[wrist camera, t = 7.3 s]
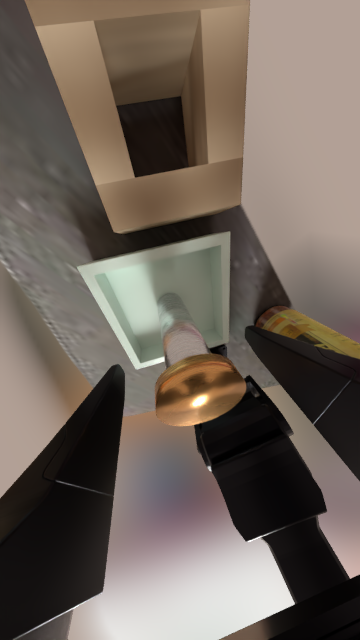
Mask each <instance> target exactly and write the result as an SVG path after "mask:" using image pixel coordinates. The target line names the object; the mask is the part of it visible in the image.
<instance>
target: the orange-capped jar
mask: <svg viewBox="0 0 360 640" xmlns="http://www.w3.org/2000/svg"><path fill="white" fill-rule="evenodd" d="M157 309H158V316H159V323H160V330H161V338H162V345H163V352H164V359H165V366H166V370H165V371H164V372H163V373H162V374H161V375H160V377H159V378H158V380H157V382H156V385H155V405H156V415H157V417H158V419H159V420H160V421H162V422H163V423H165V424H168V425H173V426H188V425H195V424H200V423H203V422H206V421H209V420H212V419H214V418H216V417H219V416H221V415H222V414H224V413H226V412H227V411H229V410H230V409H232V408H233V407H234V406H235V405H236V404H237V403H238V402H239V401H240V400H241V399H242V397H243V396H244V394H245V391H246V383H245V381H244V379H243V378H242V376H241V375H240V373H239V372H238V370H237V369H236V367H235V366H234V364H233V363H232V362H231V360H229V359H228V358H226V357H224V356H222V355H218V354H212V353H211V351H210V349H209V347H208V346H207V344H206V342H205V340H204V338H203V337H202V335H201V333H200V331H199V329H198V328H197V326H196V324H195V322H194V320H193V319H192V317H191V315H190V313H189V311H188V310H187V308H186V306H185V304H184V302H183V301H182V299H181V297H180V296H179V295H177V294H175V293H166V294H164V295H162V296H161V297H160V298H159V300H158V302H157Z"/></svg>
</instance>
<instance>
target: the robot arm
mask: <svg viewBox="0 0 360 640" xmlns="http://www.w3.org/2000/svg"><path fill="white" fill-rule="evenodd" d="M245 338H246V340H247V342H248V343H249V345H250V346H251V348H252V349H253V351H254V352H255V354H256V355H257V357H258V358H259V359H260V360H261V362H262V363H263V364H264V365H265V366H266V368H267V369H268V370H269V371H270V373H271V374H272V375H273V376H274V377H275V379H276V380H277V381H278V382H279V383H280V385H281V386H282V387H283V388H284V390H285V391H286V392H287V393H288V394H289V396H290V397H291V398H292V399H293V400H294V402H295V403H296V404H297V405H298V407H299V408H300V409H301V410H302V411H303V412H304V414H305V415H306V416H307V418H308V419H309V420H310V421H311V422H312V424H314V426H315V427H316V429H317V430H318V431H319V432H320V434H321V435H322V436H323V437H324V438H325V440H326V441H327V442H328V443H329V444H330V446H331V447H332V448H333V449H334V450H335V452H336V453H337V454H338V455H339V457H340V458H341V459H342V460H343V461H344V463H345V464H346V465H347V466H348V468H349V469H350V470H351V471H352V472H353V474H354V475H355V476H356V477H357V478H358V480H359V481H360V359H359V358H355V357H351V356H348V355H344V354H341V353H337V352H334V351H331V350H327V349H324V348H321V347H318V346H314V345H312V344H308V343H305V342H302V341H299V340H296V339H293V338H290V337H287V336H284V335H280V334H277V333H274V332H271V331H268V330H265V329H262V328H259V327H256V326H252V325H251V326H247V327H246V328H245ZM210 351H211V353H212V354H218V355H222V356H224V357H226V358H227V347H226V346H225V345H221V346H217V347H214V348H211V349H210ZM244 381H245V383H246V391H245V394H244V396H243V397H242V399H241V400H240V401H239V402H238V403H237V404H236V405H235V406H234V407H233V408H232V409H230V410H229V411H227V412H226V413H224V414H222V415H221V416H219V417H216V418H214V419H212V420H209V421H206V422H203V423H200V424H195V425H194V427H195V434H196V441H197V450H198V452H199V454H201V455H202V458H203V460H204V462H205V464H206V466H207V468H208V469H209V470H210V471H212V473H213V475H214V476H215V478H216V480H217V482H218V484H219V487H220V489H221V492H222V494H223V497H224V499H225V502H226V505H227V507H228V510H229V513H230V516H231V518H232V521H233V524H234V526H235V527H236V529H237V530H238V531H239V533H240V534H241V536H242V537H243V538H244V540H245V541H246V542H250V541H252V540H255V539H257V538H261V539H262V540H263V541H264V542H265V543H266V544H267V545H268V546H269V548H270V550H271V552H272V554H273V556H274V559H275V561H276V563H277V565H278V567H279V569H280V572H281V574H282V576H283V578H284V580H285V583H286V585H287V587H288V589H289V591H290V594H291V596H292V598H293V600H294V602H295V605H293V606H291V607H288V608H286V609H284V610H282V611H280V612H278V613H276V614H273V615H271V616H269V617H267V618H265V619H263V620H260V621H258V622H256V623H254V624H252V625H250V626H247V627H245V628H243V629H241V630H239V631H237V632H235V633H232V634H230V635H228V636H226V637H224V638H222V639H219V640H360V575H358V576H356V577H353V578H351V579H350V578H349V576H348V574H347V573H346V571H345V569H344V568H343V566H342V564H341V563H340V561H339V559H338V557H337V556H336V554H335V552H334V551H333V549H332V547H331V546H330V544H329V542H328V541H327V539H326V537H325V535H324V534H323V532H322V530H321V529H320V527H319V522H318V515H320V514H323V513H325V512H327V509H326V505H325V502H324V498H323V494H322V492H321V489H320V488H319V486H318V485H317V483H316V482H315V480H314V479H313V477H312V474H311V472H310V470H309V468H308V467H307V465H306V464H305V462H304V460H303V459H302V457H301V456H300V454H299V452H298V451H297V449H296V448H295V446H294V444H293V443H292V441H291V440H290V438H289V436H291V435H293V434H294V433H293V431H292V429H291V427H290V426H289V424H288V422H287V421H286V419H285V418H284V416H283V415H282V413H281V412H280V411H279V409H278V408H277V407H276V405H275V404H274V403H273V402H272V400H271V399H270V398H269V397H268V396H267V395H266V393H265V392H264V391H263V390H262V389H261V388H260V386H259V385H258V384H257V383H256V382H255V381H254V379H253V378H252V377H251V376H250V375H249V376H247V377H246V378H244ZM124 400H125V373H124V371H123V369H122V368H121V366H120V365H119V364H116V365H113V366H111V368H110V369H109V370H108V371H107V373H106V374H105V375H104V376H103V377H102V379H101V380H100V381H99V382H98V384H97V385H96V386H95V387H94V389H93V390H92V391H91V392H90V394H89V395H88V396H87V397H86V398H85V400H84V401H83V402H82V403H81V405H80V406H79V407H78V408H77V410H76V411H75V412H74V413H73V415H72V416H71V417H70V418H69V419H68V421H67V422H66V424H65V425H64V426H63V427H62V428H61V429H60V431H59V432H58V433H57V434H56V435H55V437H54V438H53V439H52V440H51V441H50V443H49V444H48V445H47V446H46V447H45V449H44V450H43V451H42V452H41V453H40V454H39V455H38V457H37V458H36V459H35V460H34V461H33V462H32V463H31V465H30V466H29V467H28V468H27V469H26V470H25V471H24V472H23V473H22V475H21V476H20V477H19V478H18V479H17V480H16V481H15V482H14V484H13V485H12V486H11V487H10V488H9V489H8V490H7V491H6V493H5V494H4V495H3V496H2V497H1V498H0V640H68V639H67V638H68V633H69V628H70V624H71V619H72V614H73V609H74V608H75V607H77V606H79V605H80V604H83V603H84V602H86V601H88V600H90V599H92V598H94V597H96V596H97V595H99V594H101V593H102V592H103V587H104V579H105V570H106V562H107V553H108V544H109V534H110V526H111V517H112V508H113V499H114V497H113V496H114V489H115V480H116V471H117V461H118V454H119V445H120V436H121V427H122V418H123V409H124Z"/></svg>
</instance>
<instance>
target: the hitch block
mask: <svg viewBox="0 0 360 640" xmlns="http://www.w3.org/2000/svg"><path fill="white" fill-rule="evenodd" d="M25 2H26V5H27V8H28V10H29V13H30V15H31V18H32V21H33V23H34V26H35V28H36V31H37V34H38V36H39V39H40V41H41V44H42V47H43V49H44V52H45V54H46V57H47V60H48V62H49V65H50V67H51V70H52V73H53V75H54V78H55V80H56V83H57V86H58V88H59V91H60V93H61V96H62V99H63V101H64V104H65V106H66V109H67V112H68V114H69V117H70V119H71V122H72V125H73V127H74V130H75V132H76V135H77V138H78V140H79V143H80V145H81V148H82V151H83V153H84V156H85V158H86V161H87V164H88V166H89V169H90V171H91V174H92V177H93V179H94V182H95V185H96V187H97V190H98V192H99V195H100V198H101V200H102V203H103V205H104V208H105V211H106V213H107V216H108V218H109V221H110V224H111V226H112V229H113V231H114V232H116V233H120V234H128V233H132V232H137V231H141V230H146V229H150V228H155V227H159V226H164V225H169V224H173V223H178V222H182V221H187V220H191V219H196V218H200V217H205V216H209V215H214V214H218V213H220V212H223V211H225V210H228V209H230V208H233V207H235V206H238V205H240V204H241V191H242V167H243V145H244V124H245V101H246V79H247V55H248V33H249V32H248V31H249V11H250V0H25ZM178 96H181V100H182V110H183V119H184V128H185V138H186V147H187V157H188V166H189V168H184V169H179V170H174V171H168V172H163V173H158V174H153V175H147V176H142V177H137V178H135V176H134V172H133V169H132V165H131V161H130V157H129V154H128V150H127V146H126V142H125V138H124V135H123V131H122V127H121V123H120V119H119V116H118V112H117V108H116V106H118V105H125V104H131V103H138V102H145V101H151V100H158V99H165V98H171V97H178Z"/></svg>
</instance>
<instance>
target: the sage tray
mask: <svg viewBox="0 0 360 640" xmlns="http://www.w3.org/2000/svg"><path fill="white" fill-rule="evenodd" d="M77 268H78V270H79V272H80V273H81V275H82V277H83V279H84V280H85V282H86V284H87V286H88V287H89V289H90V291H91V292H92V294H93V296H94V298H95V299H96V301H97V303H98V305H99V306H100V308H101V310H102V311H103V313H104V315H105V317H106V318H107V320H108V322H109V324H110V325H111V327H112V329H113V330H114V332H115V334H116V336H117V337H118V339H119V341H120V342H121V344H122V346H123V348H124V349H125V351H126V353H127V355H128V356H129V358H130V360H131V361H132V363H133V365H134V367H135V368H136V370H137V369H140V368H144V367H147V366H150V365H154V364H157V363H161V362H164V361H165V359H164V352H163V345H162V338H161V330H160V323H159V316H158V309H157V302H158V300H159V298H160V297H161V296H162V295H164V294H166V293H175V294H177V295H179V296H180V297H181V299H182V301H183V302H184V304H185V306H186V308H187V310H188V311H189V313H190V315H191V317H192V319H193V320H194V322H195V324H196V326H197V328H198V329H199V331H200V333H201V335H202V337H203V338H204V340H205V342H206V344H207V346H208V347H209V348H211V347H215V346H218V345H221V344H225V343H228V342H229V294H230V231H229V232H220V233H212V234H208V235H203V236H199V237H195V238H190V239H186V240H182V241H177V242H173V243H169V244H164V245H160V246H156V247H151V248H147V249H143V250H138V251H134V252H130V253H125V254H121V255H117V256H112V257H108V258H104V259H99V260H95V261H92V262H89V263H86V264H83V265H81V266H78V267H77Z"/></svg>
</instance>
